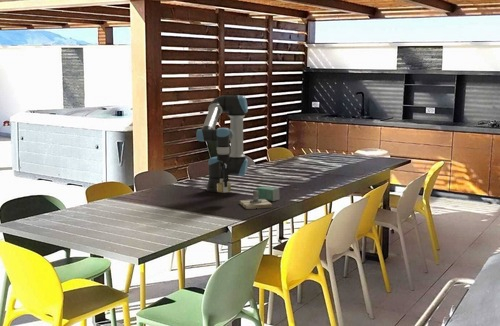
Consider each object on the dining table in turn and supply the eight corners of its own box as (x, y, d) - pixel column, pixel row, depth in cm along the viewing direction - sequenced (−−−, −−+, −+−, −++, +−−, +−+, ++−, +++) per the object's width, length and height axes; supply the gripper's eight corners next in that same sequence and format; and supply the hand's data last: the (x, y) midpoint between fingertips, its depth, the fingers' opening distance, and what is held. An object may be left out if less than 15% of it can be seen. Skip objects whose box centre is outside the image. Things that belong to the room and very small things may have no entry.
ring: (216, 190, 367) (215, 182, 366) (228, 189, 369) (228, 182, 368) (218, 192, 360) (218, 185, 359) (231, 191, 362) (231, 184, 361)
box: (262, 196, 388) (262, 185, 387) (279, 199, 380) (279, 188, 379) (255, 198, 382) (255, 187, 381) (273, 201, 374) (273, 189, 373)
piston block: (239, 203, 368) (239, 189, 366) (264, 202, 372) (264, 187, 371) (246, 209, 352) (246, 194, 351) (272, 207, 357) (272, 192, 355)
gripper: (213, 151, 369) (214, 187, 373) (220, 156, 350) (221, 194, 353) (225, 150, 371) (226, 186, 375) (233, 155, 351) (233, 193, 355)
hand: (223, 190), depth 364 cm, fingers closed on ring, 8 cm apart
